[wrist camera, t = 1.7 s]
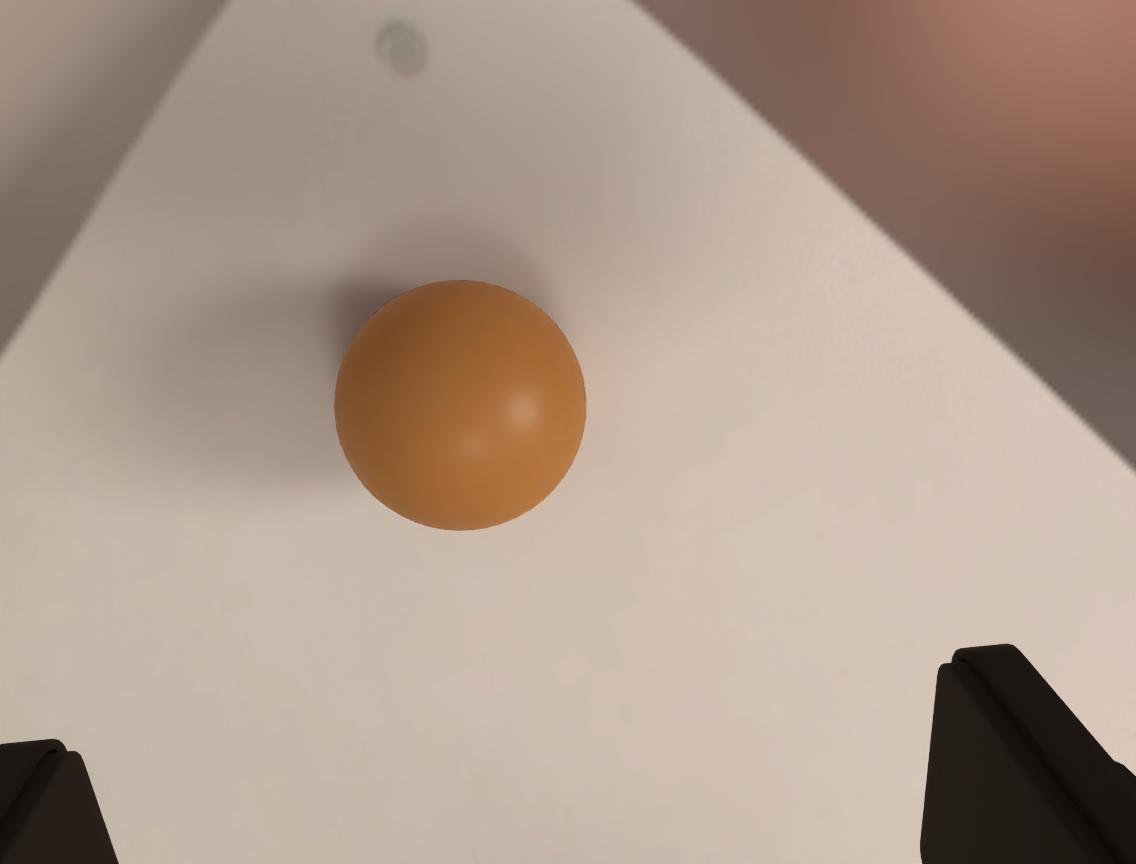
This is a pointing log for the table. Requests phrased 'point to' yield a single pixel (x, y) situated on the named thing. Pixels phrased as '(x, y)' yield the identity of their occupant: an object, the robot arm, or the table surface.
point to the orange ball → (460, 405)
